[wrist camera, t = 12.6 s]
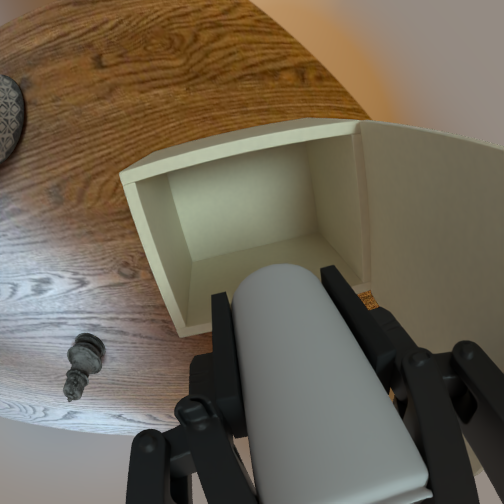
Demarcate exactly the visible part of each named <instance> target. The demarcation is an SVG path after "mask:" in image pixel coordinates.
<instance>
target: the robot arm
mask: <svg viewBox="0 0 504 504" xmlns="http://www.w3.org/2000/svg"><path fill="white" fill-rule="evenodd" d="M320 273H321V283H322V285H323V287H324V288H325V290H326V292H327V293H328V295H329V296H330V298H331V300H332V301H333V303H334V304H335V306H336V308H337V309H338V311H339V313H340V314H341V316H342V318H343V319H344V321H345V322H346V324H347V326H348V327H349V329H350V331H351V332H352V334H353V336H354V337H355V339H356V341H357V342H358V344H359V346H360V347H361V349H362V351H363V353H364V354H365V356H366V358H367V359H368V361H369V363H370V365H371V366H372V368H373V370H374V371H375V373H376V375H377V377H378V378H379V380H380V382H381V384H382V385H383V387H384V389H385V391H386V392H387V394H388V395H389V391H390V387H391V389H392V391H393V392H394V394H395V395H394V399H393V405H394V407H395V408H396V410H397V412H398V414H399V416H400V418H401V419H402V421H403V423H404V425H405V427H406V429H407V430H408V432H409V434H410V436H411V438H412V440H413V442H414V443H415V445H416V447H417V449H418V451H419V453H420V455H421V457H422V459H423V461H424V462H425V464H426V466H427V468H428V472H429V480H428V483H427V486H426V488H427V489H430V490H431V491H432V493H433V497H432V498H425V499H424V500H423V501H422V502H421V503H420V504H480V503H479V498H478V493H477V488H476V484H475V479H474V475H473V471H472V467H471V463H470V459H469V456H468V452H467V449H466V445H465V442H464V438H463V435H464V437H465V439H466V440H467V442H468V443H469V445H470V447H471V448H472V450H473V452H474V453H475V455H476V457H477V458H478V460H479V462H480V464H481V465H482V467H483V469H484V470H485V472H486V474H487V476H488V477H489V479H490V481H491V483H492V484H493V486H494V488H495V490H496V492H497V494H498V496H499V498H500V499H501V501H502V503H503V504H504V374H503V372H502V371H501V370H500V369H499V368H498V367H497V365H496V364H495V363H494V362H493V361H492V360H491V359H490V357H489V356H488V355H487V354H486V353H485V352H484V351H483V350H482V348H481V347H480V346H479V345H477V344H476V343H475V342H472V341H469V340H463V341H459V342H458V343H456V344H455V345H454V347H453V349H452V351H451V352H444V353H436V354H433V353H431V352H430V351H429V350H427V349H425V348H421V347H418V346H417V345H416V343H415V342H414V341H413V340H412V338H411V337H410V336H409V334H408V333H407V332H406V331H405V329H404V328H403V327H402V326H401V324H400V323H399V322H398V321H397V320H396V318H395V317H394V316H393V314H392V313H391V312H390V311H388V310H386V309H385V308H383V307H378V308H375V309H372V310H368V309H367V308H366V306H365V305H364V304H363V302H362V301H361V300H360V298H359V297H358V296H357V294H356V293H355V292H354V290H353V289H352V288H351V286H350V285H349V284H348V282H347V281H346V280H345V278H344V277H343V276H342V274H341V273H340V272H339V270H338V269H337V268H336V267H335V265H330V266H326V267H323V268H320ZM211 313H212V344H213V352H211V353H206V354H201V355H196V356H194V358H193V360H192V362H191V364H190V376H189V383H190V384H189V395H188V396H186V397H184V398H182V399H181V400H180V401H179V402H178V403H177V405H176V407H175V409H174V415H175V417H176V418H177V419H178V421H179V422H180V425H179V426H177V427H175V428H173V429H171V430H168V431H166V432H163V433H161V432H160V431H158V430H156V429H147V430H143V431H141V432H140V433H138V434H137V435H136V436H135V438H134V439H133V442H132V447H131V455H130V463H129V472H128V482H127V493H126V504H193V501H192V500H193V499H192V475H191V474H192V473H195V472H197V474H198V476H199V479H200V482H201V485H202V488H203V491H204V493H205V496H206V499H207V502H208V504H259V502H258V499H257V495H256V489H255V487H254V485H253V483H252V481H251V479H250V477H249V475H248V472H247V470H246V468H245V466H244V464H243V462H242V460H241V458H240V455H239V453H238V451H237V448H236V447H235V445H234V443H233V435H234V437H235V438H242V437H247V436H248V433H247V425H246V418H245V410H244V402H243V394H242V387H241V379H240V372H239V365H238V357H237V349H236V342H235V334H234V326H233V318H232V310H231V307H230V303H229V300H228V297H227V293H226V291H225V292H221V293H217V294H213V295H211ZM462 434H463V435H462Z"/></svg>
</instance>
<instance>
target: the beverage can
mask: <svg viewBox="0 0 504 504" xmlns="http://www.w3.org/2000/svg"><path fill="white" fill-rule="evenodd" d="M231 310H232V318H233V326H234V334H235V342H236V349H237V357H238V365H239V372H240V379H241V387H242V394H243V402H244V410H245V418H246V425H247V433H248V440H249V447H250V455H251V462H252V469H253V476H254V482H255V489H256V495H257V499H258V502H259V504H420V503H421V502H422V501H423V500H424V499H425V498H432V497H433V493H432V491H431V490H430V489H427V488H426V486H427V483H428V480H429V472H428V468H427V466H426V464H425V462H424V461H423V459H422V457H421V455H420V453H419V451H418V449H417V447H416V445H415V443H414V442H413V440H412V438H411V436H410V434H409V432H408V430H407V429H406V427H405V425H404V423H403V421H402V419H401V418H400V416H399V414H398V412H397V410H396V408H395V407H394V405H393V403H392V401H391V400H390V398H389V396H388V394H387V392H386V391H385V389H384V387H383V385H382V384H381V382H380V380H379V378H378V377H377V375H376V373H375V371H374V370H373V368H372V366H371V365H370V363H369V361H368V359H367V358H366V356H365V354H364V353H363V351H362V349H361V347H360V346H359V344H358V342H357V341H356V339H355V337H354V336H353V334H352V332H351V331H350V329H349V327H348V326H347V324H346V322H345V321H344V319H343V318H342V316H341V314H340V313H339V311H338V309H337V308H336V306H335V304H334V303H333V301H332V300H331V298H330V296H329V295H328V293H327V292H326V290H325V288H324V287H323V285H322V284H321V282H320V280H319V279H318V278H317V277H316V276H315V275H314V274H313V273H312V272H311V271H310V270H307V269H305V268H303V267H301V266H299V265H294V264H289V263H283V264H273V265H269V266H266V267H263V268H260V269H258V270H257V271H255V272H253V273H251V274H250V275H249V276H247V277H246V278H245V279H244V280H243V281H242V282H241V283H240V284H239V286H238V288H237V289H236V291H235V293H234V295H233V299H232V303H231Z"/></svg>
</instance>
